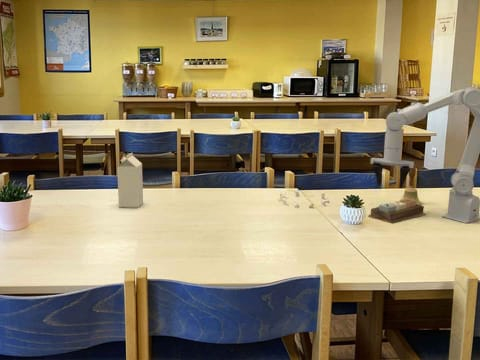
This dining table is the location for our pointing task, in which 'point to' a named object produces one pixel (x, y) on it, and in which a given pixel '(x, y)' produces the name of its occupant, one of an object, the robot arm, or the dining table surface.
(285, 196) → the game piece set
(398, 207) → the key two cream
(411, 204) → the key one terracotta
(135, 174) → the milk carton
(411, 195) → the hand bell
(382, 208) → the key three slate
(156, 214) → the dining table surface
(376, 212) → the wooden tray
